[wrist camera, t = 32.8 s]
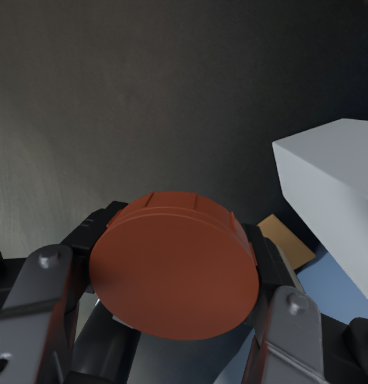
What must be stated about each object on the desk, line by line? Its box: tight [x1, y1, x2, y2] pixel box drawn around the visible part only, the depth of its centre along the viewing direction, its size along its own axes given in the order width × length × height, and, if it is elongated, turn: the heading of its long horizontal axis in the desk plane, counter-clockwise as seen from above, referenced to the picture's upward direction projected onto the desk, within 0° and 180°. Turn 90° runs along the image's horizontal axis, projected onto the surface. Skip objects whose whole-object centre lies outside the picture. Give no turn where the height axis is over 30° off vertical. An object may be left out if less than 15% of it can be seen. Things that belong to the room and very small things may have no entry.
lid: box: [89, 191, 259, 340], centre depth 8 cm, size 6×6×2 cm
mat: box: [256, 214, 316, 270], centre depth 28 cm, size 11×9×1 cm
